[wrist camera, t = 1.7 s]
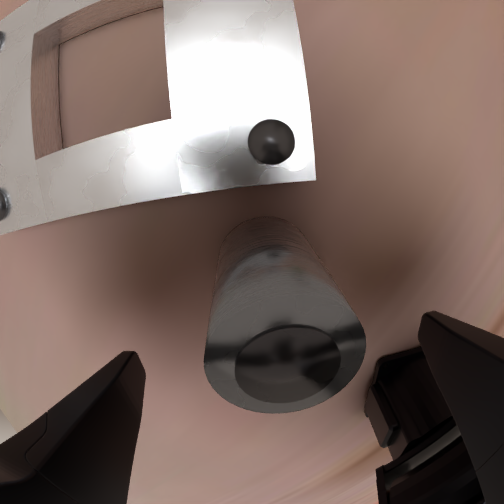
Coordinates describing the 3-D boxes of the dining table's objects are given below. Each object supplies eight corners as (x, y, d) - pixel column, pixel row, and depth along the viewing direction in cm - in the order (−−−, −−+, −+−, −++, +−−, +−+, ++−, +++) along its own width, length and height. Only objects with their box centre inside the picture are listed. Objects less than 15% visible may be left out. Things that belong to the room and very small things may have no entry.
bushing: (308, 212, 13) (377, 286, 6) (311, 295, 14) (357, 403, 8) (212, 222, 13) (185, 310, 6) (226, 306, 14) (219, 423, 8)
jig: (270, -44, 8) (276, -73, 5) (301, 173, 12) (318, 181, 10) (4, 42, 8) (-22, 36, 5) (16, 224, 12) (-13, 239, 10)
